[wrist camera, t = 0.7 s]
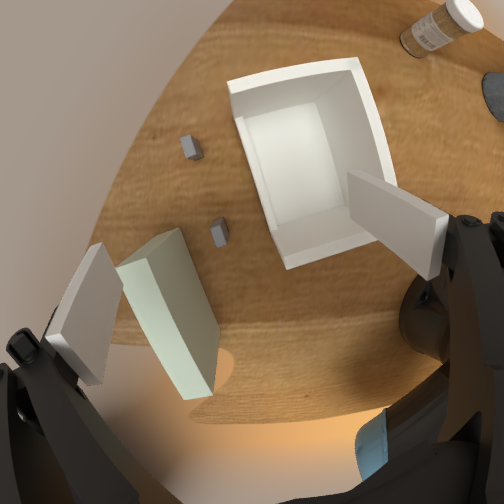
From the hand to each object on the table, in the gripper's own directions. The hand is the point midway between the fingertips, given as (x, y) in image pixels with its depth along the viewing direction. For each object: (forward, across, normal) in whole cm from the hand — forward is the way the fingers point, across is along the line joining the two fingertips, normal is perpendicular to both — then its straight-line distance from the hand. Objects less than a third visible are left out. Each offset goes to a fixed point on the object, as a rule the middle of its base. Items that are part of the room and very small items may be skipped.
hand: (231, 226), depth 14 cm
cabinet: (+17, -7, +2) cm, 18 cm away
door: (+16, +6, +13) cm, 21 cm away
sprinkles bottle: (+18, -30, -12) cm, 37 cm away
